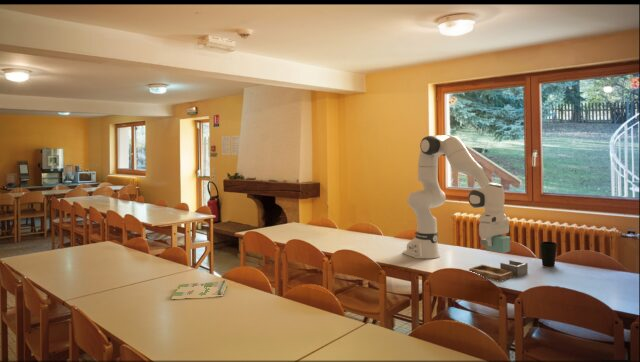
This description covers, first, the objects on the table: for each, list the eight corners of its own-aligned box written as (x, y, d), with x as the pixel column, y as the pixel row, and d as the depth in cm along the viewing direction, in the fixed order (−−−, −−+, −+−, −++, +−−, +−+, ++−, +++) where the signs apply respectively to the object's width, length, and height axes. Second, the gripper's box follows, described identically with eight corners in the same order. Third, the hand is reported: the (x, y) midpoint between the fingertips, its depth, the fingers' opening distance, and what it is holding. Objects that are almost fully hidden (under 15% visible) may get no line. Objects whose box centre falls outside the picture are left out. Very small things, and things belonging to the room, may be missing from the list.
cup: (558, 267, 217) (559, 244, 216) (542, 267, 218) (543, 244, 218) (553, 263, 224) (554, 241, 224) (538, 263, 226) (538, 241, 225)
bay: (500, 272, 212) (500, 263, 211) (510, 269, 217) (510, 259, 217) (517, 276, 204) (517, 266, 204) (527, 273, 210) (527, 263, 209)
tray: (469, 273, 213) (469, 268, 212) (482, 269, 219) (482, 264, 219) (500, 281, 199) (500, 276, 199) (513, 276, 205) (513, 271, 205)
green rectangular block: (478, 248, 210) (478, 234, 210) (485, 246, 214) (485, 232, 213) (503, 253, 200) (503, 238, 199) (510, 251, 203) (510, 236, 202)
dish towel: (223, 298, 189) (223, 290, 189) (170, 301, 187) (170, 293, 187) (227, 286, 206) (227, 279, 206) (179, 289, 204) (179, 281, 204)
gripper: (500, 213, 214) (500, 240, 215) (476, 218, 202) (476, 246, 203) (512, 214, 208) (512, 242, 209) (488, 219, 197) (488, 249, 198)
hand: (494, 244), depth 206 cm, fingers closed on green rectangular block, 6 cm apart
